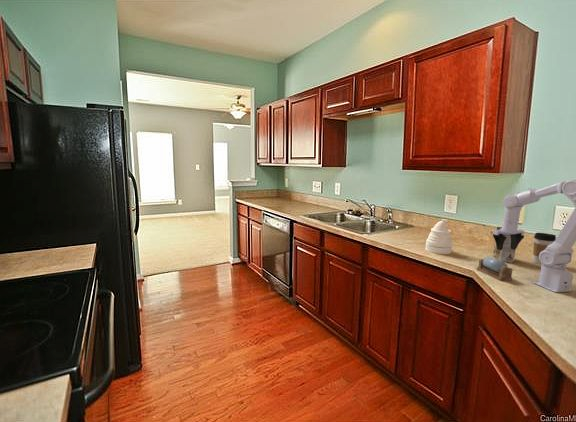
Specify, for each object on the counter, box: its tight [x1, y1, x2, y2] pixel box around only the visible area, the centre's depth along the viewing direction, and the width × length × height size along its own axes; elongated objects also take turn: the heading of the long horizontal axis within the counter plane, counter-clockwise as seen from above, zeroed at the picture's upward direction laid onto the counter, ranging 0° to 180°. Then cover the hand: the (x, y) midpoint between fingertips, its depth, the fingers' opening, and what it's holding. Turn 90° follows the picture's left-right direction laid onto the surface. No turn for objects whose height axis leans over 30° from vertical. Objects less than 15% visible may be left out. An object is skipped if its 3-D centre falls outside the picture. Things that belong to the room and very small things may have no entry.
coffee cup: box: [532, 232, 557, 265], centre depth 151 cm, size 8×8×15 cm
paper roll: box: [483, 256, 509, 273], centre depth 134 cm, size 8×5×5 cm, turn 10°
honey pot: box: [425, 218, 453, 255], centre depth 167 cm, size 13×13×18 cm
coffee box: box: [492, 226, 516, 263], centre depth 155 cm, size 9×6×16 cm
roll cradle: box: [476, 258, 513, 282], centre depth 134 cm, size 6×13×5 cm, turn 10°
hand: (506, 249), depth 141 cm, fingers open, 7 cm apart
